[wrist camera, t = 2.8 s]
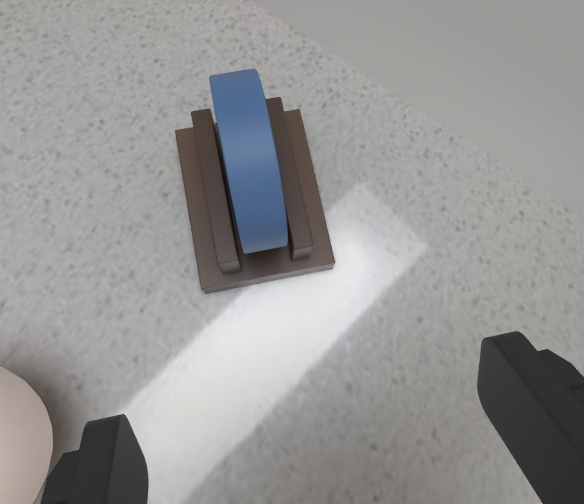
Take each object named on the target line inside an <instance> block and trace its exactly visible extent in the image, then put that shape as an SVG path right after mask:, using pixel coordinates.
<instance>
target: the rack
mask: <svg viewBox="0 0 584 504" xmlns="http://www.w3.org/2000/svg"><path fill="white" fill-rule="evenodd" d="M265 100H266V104H267V109H268V113H269V118H270V123H271V127H272V132H273V138H274V143H275V148H276V153H277V159H278V165H279V171H280V177H281V183H282V190H283V196H284V204H285V211H286V220H287V232H288V242H287V245H286V246H284V247H278V248H273V249H268V250H263V251H258V252H252V253H247V254H244V252H243V249H242V245H241V240H240V236H239V231H238V226H237V222H236V217H235V212H234V207H233V202H232V197H231V192H230V187H229V182H228V177H227V172H226V167H225V162H224V157H223V152H222V146H221V141H220V136H219V131H218V125H217V123H215V124H214V121H213V117H212V113H211V109H204V110H198V111H192V112H191V116H192V122H193V127H192V128H186V129H180V130H175V134H176V140H177V146H178V152H179V158H180V164H181V170H182V176H183V182H184V188H185V194H186V200H187V206H188V212H189V218H190V224H191V230H192V236H193V242H194V248H195V254H196V260H197V266H198V272H199V278H200V284H201V289H202V290H203V291H204V292H205V293H211V292H216V291H222V290H227V289H232V288H237V287H242V286H247V285H252V284H257V283H262V282H267V281H272V280H277V279H283V278H288V277H293V276H298V275H303V274H308V273H313V272H318V271H323V270H328V269H332V268H333V266H334V264H335V260H334V256H333V251H332V247H331V243H330V238H329V234H328V230H327V225H326V221H325V217H324V212H323V208H322V204H321V199H320V195H319V191H318V186H317V182H316V178H315V173H314V169H313V165H312V160H311V156H310V152H309V147H308V143H307V139H306V135H305V130H304V126H303V122H302V117H301V113H300V110H299V109H297V110H291V111H285V112H284V109H283V105H282V100H281V98H280V97H277V98H271V99H265Z"/></svg>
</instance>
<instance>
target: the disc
mask: <svg viewBox="0 0 584 504" xmlns="http://www.w3.org/2000/svg"><path fill="white" fill-rule="evenodd" d="M209 80H210V86H211V92H212V98H213V104H214V109H215V115H216V120H217V125H218V131H219V136H220V141H221V146H222V152H223V157H224V162H225V167H226V172H227V177H228V182H229V187H230V192H231V197H232V202H233V207H234V212H235V217H236V222H237V226H238V231H239V236H240V240H241V245H242V249H243V252H244V254H247V253H252V252H258V251H263V250H268V249H273V248H278V247H284V246H286V245H287V242H288V232H287V220H286V211H285V204H284V196H283V190H282V183H281V177H280V171H279V165H278V159H277V153H276V148H275V143H274V138H273V132H272V127H271V123H270V118H269V113H268V109H267V104H266V100H265V96H264V92H263V88H262V85H261V81H260V78H259V75H258V73H257V71H256V69H249V70H242V71H236V72H230V73H224V74H218V75H212V76H210V77H209Z"/></svg>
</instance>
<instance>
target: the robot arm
mask: <svg viewBox="0 0 584 504" xmlns="http://www.w3.org/2000/svg"><path fill="white" fill-rule="evenodd" d="M477 388H478V395H479V399H480V402H481V405H482V407H483V409H484V411H485V413H486V415H487V416H488V418H489V419H490V421H491V422H492V424H493V426H494V427H495V429H496V430H497V432H498V434H499V435H500V437H501V438H502V440H503V441H504V443H505V445H506V446H507V448H508V449H509V451H510V453H511V454H512V456H513V457H514V459H515V460H516V462H517V464H518V465H519V467H520V468H521V470H522V471H523V473H524V475H525V476H526V478H527V479H528V481H529V483H530V484H531V486H532V487H533V489H534V490H535V492H536V494H537V495H538V497H539V498H540V500H541V501H542V503H543V504H584V377H583V376H582V375H581V374H580V373H579V371H578V370H577V369H576V368H575V367H574V366H573V365H572V364H571V363H570V362H568V361H566V360H565V359H563V358H561V357H560V356H558V355H556V354H555V353H553V352H552V351H550V350H548V349H545V350H541V351H537V350H536V349H535V348H534V346H533V345H532V344H531V343H530V342H529V341H528V340H527V338H526V337H525V336H524V335H523V334H522V333H520V332H518V331H515V332H510V333H505V334H501V335H496V336H491V337H487V338H484V339H483V340H482V344H481V353H480V363H479V373H478V383H477ZM147 499H148V470H147V465H146V461H145V457H144V455H143V453H142V450H141V448H140V446H139V444H138V441H137V439H136V437H135V434H134V432H133V430H132V427H131V425H130V423H129V421H128V419H127V417H126V416H125V415H124V414H122V415H117V416H112V417H108V418H103V419H98V420H93V421H89V422H87V423H86V425H85V427H84V431H83V435H82V439H81V444H80V448H79V450H77V451H72V452H68V453H64V454H63V455H62V457H61V458H60V460H59V461H58V463H57V464H56V466H55V467H54V469H53V470H52V472H51V473H50V475H49V476H48V478H47V482H46V485H45V489H44V493H43V496H42V500H41V504H147Z"/></svg>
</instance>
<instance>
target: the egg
mask: <svg viewBox="0 0 584 504" xmlns="http://www.w3.org/2000/svg"><path fill="white" fill-rule="evenodd" d="M52 451H53V434H52V425H51V422H50V419H49V416H48V412H47V409H46V407H45V405H44V404H43V402H42V400H41V399H40V397H39V396H38V395H37V393H36V392H35V391H34V390H33V389H32V388H31V387H30V386H29V385H28V383H27V382H26V381H25V380H23V379H22V378H20V377H18V376H16V375H15V374H13V373H11V372H10V371H8V370H6V369H5V368H3V367H1V366H0V504H32V503H33V502H34V501H35V499H36V498H37V495H38V493H39V491H40V489H41V487H42V485H43V483H44V481H45V479H46V476H47V473H48V470H49V465H50V460H51V455H52Z"/></svg>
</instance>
